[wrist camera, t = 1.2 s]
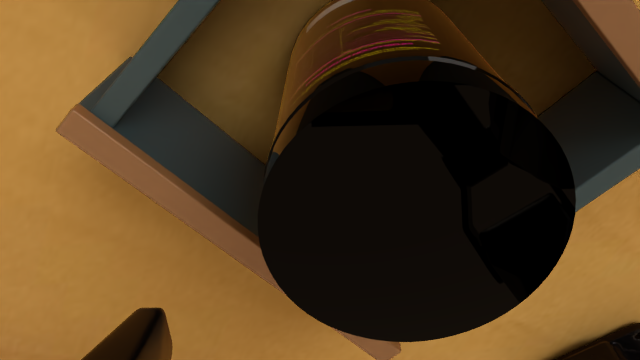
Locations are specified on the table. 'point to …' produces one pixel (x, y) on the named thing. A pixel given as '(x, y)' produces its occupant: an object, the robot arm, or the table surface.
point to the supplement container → (407, 178)
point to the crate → (248, 172)
